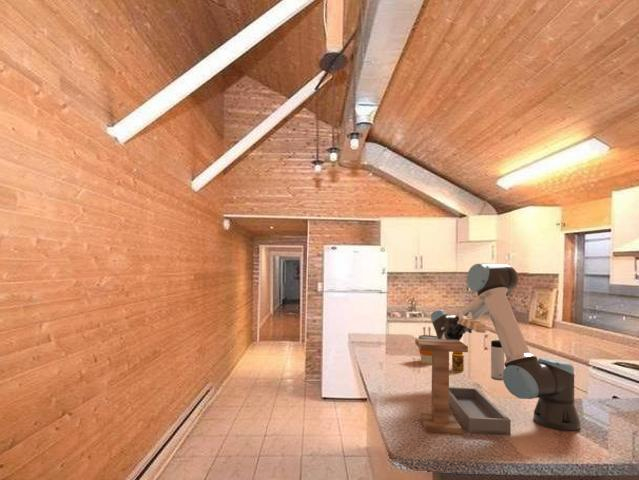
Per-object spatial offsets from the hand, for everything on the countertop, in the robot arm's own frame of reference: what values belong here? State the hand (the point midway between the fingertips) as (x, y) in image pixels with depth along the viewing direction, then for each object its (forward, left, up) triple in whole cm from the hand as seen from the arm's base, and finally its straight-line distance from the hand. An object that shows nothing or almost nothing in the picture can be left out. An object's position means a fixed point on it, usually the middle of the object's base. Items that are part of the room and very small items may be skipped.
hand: (466, 314), depth 161 cm
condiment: (+34, -54, -38) cm, 74 cm away
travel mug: (+12, -56, -38) cm, 69 cm away
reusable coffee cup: (+54, -57, -38) cm, 87 cm away
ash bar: (-3, +3, -4) cm, 6 cm away
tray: (-4, +2, -38) cm, 38 cm away
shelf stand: (-2, +23, -38) cm, 44 cm away
